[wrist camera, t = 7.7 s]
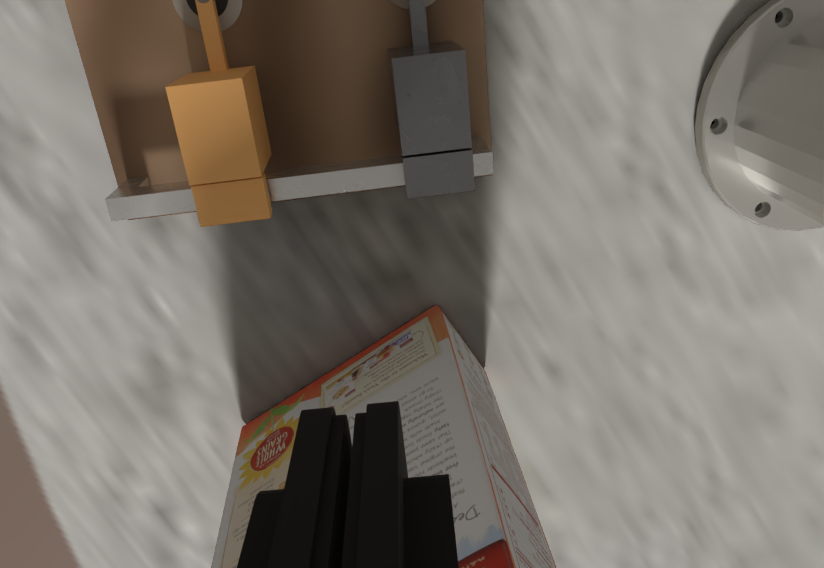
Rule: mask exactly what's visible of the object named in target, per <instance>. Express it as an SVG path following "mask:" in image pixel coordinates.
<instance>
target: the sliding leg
mask: <svg viewBox="0 0 824 568" xmlns="http://www.w3.org/2000/svg"><path fill="white" fill-rule="evenodd" d="M195 2H196V7H197V11H198V16H199V21H200V25H201V30H202V34H203V39H204V44H205V48H206V53H207V58H208V62H209V67H210V71H204V72H196V73H187V74H186V75H184V76H182V77H181V78H179V79H178V80H176V81H174V82H173V83H171V84H169V85H168V86H166V87H165V88H166V92H167V96H168V100H169V104H170V109H171V113H172V117H173V121H174V125H175V129H176V133H177V137H178V141H179V145H180V149H181V154H182V158H183V162H184V166H185V170H186V174H187V178H188V182H189V186H190V185H192V186H191V189H192V193H193V197H194V201H195V205H196V210H197V214H198V218H199V222H200V226H201V227H205V226H213V225H221V224H229V223H237V222H245V221H253V220H261V219H269V218H271V216H272V207H271V202H270V197H269V192H268V187H267V182H266V177H265V173H263V172H264V170H265V168H266V165H267V163H268V161H269V159H270V156H271V148H270V143H269V138H268V132H267V127H266V122H265V117H264V111H263V106H262V101H261V96H260V90H259V85H258V80H257V75H256V69H255V66H247V67H238V68H230V69H229V67H228V62H227V57H226V52H225V47H224V42H223V37H222V32H221V28H220V23H219V18H218V13H217V8H216V3H215V0H195Z"/></svg>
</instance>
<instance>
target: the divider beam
mask: <svg viewBox="0 0 824 568" xmlns="http://www.w3.org/2000/svg"><path fill="white" fill-rule="evenodd" d="M408 7H409V19H410V29H411V39H412V46H405V47H396V48H388V49H387V52H388V61H389V70H390V79H391V88H392V97H393V106H394V114H395V123H396V132H397V138H398V142H399V145H400V149H401V153H402V155H395V156H387V157H379V158H371V159H363V160H354V161H346V162H338V163H330V164H322V165H313V166H305V167H297V168H289V169H281V170H272V171H264V172H263V173H265V177H266V182H267V187H268V192H269V197H270V202H271V201H279V200H287V199H296V198H304V197H312V196H320V195H328V194H336V193H344V192H352V191H360V190H369V189H377V188H385V187H393V186H401V185H405V189H406V196H407V199H411V198H419V197H427V196H435V195H443V194H451V193H459V192H467V191H475V180H474V176H482V175H490V174H494V168H493V152H492V151H491V149H490V148H489V147H488V145H487V144H486V143H485V142H484V140H483V139H482V138H481V136H478V137H471V125H470V110H469V95H468V81H467V66H466V52H465V49H463V48H462V47H460V46H459V45H458V44H456V43H455V42H453V41H447V42H439V43H430V44H429V43H428V32H427V20H426V9H425V0H408ZM191 186H192V185H190V186H189V182H188V181H182V182H174V183H166V184H158V185H150V182H149V178H148V177H141V178H133V179H127V180H126V181H125V182H123V183H122V184H121V185H120V186H119V187H118V188H117V189H116V190H115V191H114V192H113V193H112V194H111V195H109V196H108V197H107V198H106V199H105V201H106V204H107V207H108V211H109V214H110V217H111V221H117V220H125V219H133V218H141V217H150V216H158V215H166V214H174V213H182V212H190V211H197V210H196V205H195V201H194V197H193V193H192V189H191Z"/></svg>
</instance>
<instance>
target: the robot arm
mask: <svg viewBox="0 0 824 568" xmlns="http://www.w3.org/2000/svg"><path fill="white" fill-rule="evenodd" d="M777 13H778V17H777V19H776V20H775V17H776V14H777ZM713 120H715V122H714V124H713V125H712V126H711V127H710V125H711V122H712V121H713ZM695 139H696V152H697V156H698V159H699V163H700V166H701V169H702V173H703V175H704V176H705V178H706V180H707V182H708V184H709V185H710V187H711V189H712V191H713V192H714V193H715V194H716V195H717V196H718V197H719V198H720V199H721V201H722V202H723V203H724V204H725V205H726V206H728V207H729V208H731V209H732V210H734V211H735V212H736V213H738V214H739V215H741V216H743V217H744V218H746V219H748V220H750V221H751V222H753V223H756V224H758V225H762V226H765V227H769V228H773V229H777V230H792V231H801V230H809V229H816V228H822V227H824V0H770V1H769V2H767V3H766V4H765V5H763V6H762V7H761V8H760V9H758V10H757V11H756V12H754V13H753V14H752V15H750V17H749V18H748V19H747V20H746V21H745V22H744V23H743V24H742V25H741V26H740V27H739V28H738V29H737V30H736V31H735V32H734V33H733V34H732V36H731V37H730V38H729V40H728V41H727V43H726V44H725V46H724V47H723V49H722V50H721V51H720V53H719V54H718V56H717V57H716V59H715V61H714V63H713V65H712V67H711V69H710V72H709V74H708V76H707V78H706V80H705V82H704V85H703V89H702V92H701V96H700V99H699V103H698V106H697V115H696V124H695ZM237 568H459V566H458V556H457V547H456V537H455V528H454V518H453V509H452V499H451V490H450V480H449V474H444V475H433V476H421V477H410V478H408V471H407V463H406V455H405V446H404V438H403V430H402V422H401V414H400V406H399V402H398V401H393V402H382V403H371V404H367V408H366V413H356V414H355V422H354V433H353V444H352V442H351V435H350V429H349V423H348V418H347V415H346V414H344V415H336V412H335V409H334V407H328V408H317V409H307V410H302V411H301V413H300V417H299V422H298V426H297V431H296V436H295V440H294V445H293V450H292V454H291V459H290V464H289V468H288V473H287V478H286V482H285V487H284V489H278V490H266V491H260V492H259V493H258V494H257V495H256V498H255V501H254V504H253V508H252V512H251V516H250V519H249V523H248V527H247V531H246V535H245V538H244V542H243V546H242V550H241V553H240V557H239V561H238V565H237Z"/></svg>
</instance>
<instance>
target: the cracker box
mask: <svg viewBox="0 0 824 568" xmlns="http://www.w3.org/2000/svg"><path fill="white" fill-rule="evenodd" d="M393 401H398V402H399V406H400V414H401V422H402V430H403V438H404V446H405V455H406V463H407V471H408V478H410V477H421V476H433V475H444V474H449V480H450V490H451V499H452V509H453V518H454V528H455V537H456V547H457V556H458V566H459V568H556V565H555V563H554V560H553V557H552V554H551V551H550V549H549V546H548V543H547V540H546V538H545V535H544V532H543V529H542V527H541V524H540V521H539V518H538V516H537V513H536V510H535V508H534V505H533V502H532V499H531V496H530V494H529V491H528V488H527V485H526V482H525V480H524V477H523V474H522V471H521V468H520V466H519V463H518V460H517V458H516V455H515V452H514V450H513V447H512V444H511V441H510V438H509V435H508V432H507V430H506V427H505V424H504V421H503V419H502V416H501V413H500V410H499V407H498V404H497V401H496V398H495V395H494V393H493V390H492V388H491V385H490V383H489V380H488V377H487V374H486V372H485V370H484V369H483V367H482V366H481V365H480V363H479V362H478V360H477V359H476V358H475V356H474V355H473V353H472V352H471V351H470V349H469V348H468V346H467V345H466V344H465V342H464V341H463V339H462V338H461V337H460V335H459V334H458V333H457V331H456V330H455V329H454V327H453V326H452V324H451V323H450V322H449V320H448V319H447V317H446V316H445V315H444V313H443V312H442V310H441V309H440V307H439V306H438V305H435V306H433V307H431V308H430V309H428V310H426V311H425V312H423V313H422V314H420V315H419V316H417V317H415V318H414V319H412V320H411V321H409V322H408V323H406V324H404V325H403V326H401V327H399V328H398V329H396V330H395V331H393V332H391V333H390V334H388V335H387V336H385V337H384V338H382V339H380V340H379V341H377V342H376V343H374V344H372V345H371V346H369V347H368V348H366V349H365V350H363V351H361V352H360V353H358V354H357V355H355V356H354V357H352V358H350V359H349V360H347V361H346V362H344V363H343V364H341V365H340V366H338V367H336V368H335V369H333V370H332V371H330V372H328V373H327V374H325V375H324V376H322V377H320V378H319V379H317V380H315V381H314V382H312V383H311V384H309V385H308V386H306V387H304V388H303V389H301V390H300V391H298V392H297V393H295V394H293V395H292V396H290V397H289V398H287V399H285V400H284V401H282V402H281V403H279V404H278V405H276V406H275V407H273V408H271V409H270V410H268V411H266V412H265V413H263V414H262V415H260V416H259V417H257V418H255V419H254V420H252V421H250V422H249V423H247V424H246V425H245V426H243V427H242V430H241V434H240V439H239V442H238V447H237V451H236V456H235V460H234V465H233V469H232V474H231V479H230V484H229V488H228V492H227V497H226V502H225V506H224V511H223V515H222V520H221V524H220V529H219V534H218V538H217V543H216V547H215V552H214V557H213V561H212V566H211V568H237V565H238V561H239V557H240V553H241V550H242V546H243V542H244V538H245V535H246V531H247V527H248V523H249V519H250V516H251V512H252V508H253V504H254V501H255V498H256V495H257V494H258V493H259V492H260V491H266V490H278V489H284V487H285V482H286V478H287V473H288V468H289V464H290V459H291V454H292V450H293V445H294V440H295V436H296V431H297V426H298V422H299V417H300V413H301V411H302V410H307V409H317V408H328V407H334V409H335V412H336V415H344V414H346V415H347V418H348V423H349V429H350V435H351V442H352V444H353V433H354V422H355V414H356V413H366V408H367V404H371V403H382V402H393Z"/></svg>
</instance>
